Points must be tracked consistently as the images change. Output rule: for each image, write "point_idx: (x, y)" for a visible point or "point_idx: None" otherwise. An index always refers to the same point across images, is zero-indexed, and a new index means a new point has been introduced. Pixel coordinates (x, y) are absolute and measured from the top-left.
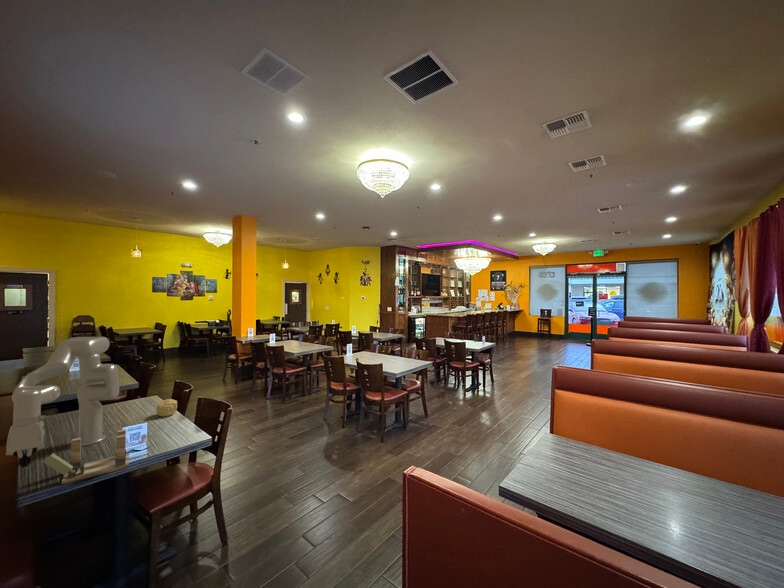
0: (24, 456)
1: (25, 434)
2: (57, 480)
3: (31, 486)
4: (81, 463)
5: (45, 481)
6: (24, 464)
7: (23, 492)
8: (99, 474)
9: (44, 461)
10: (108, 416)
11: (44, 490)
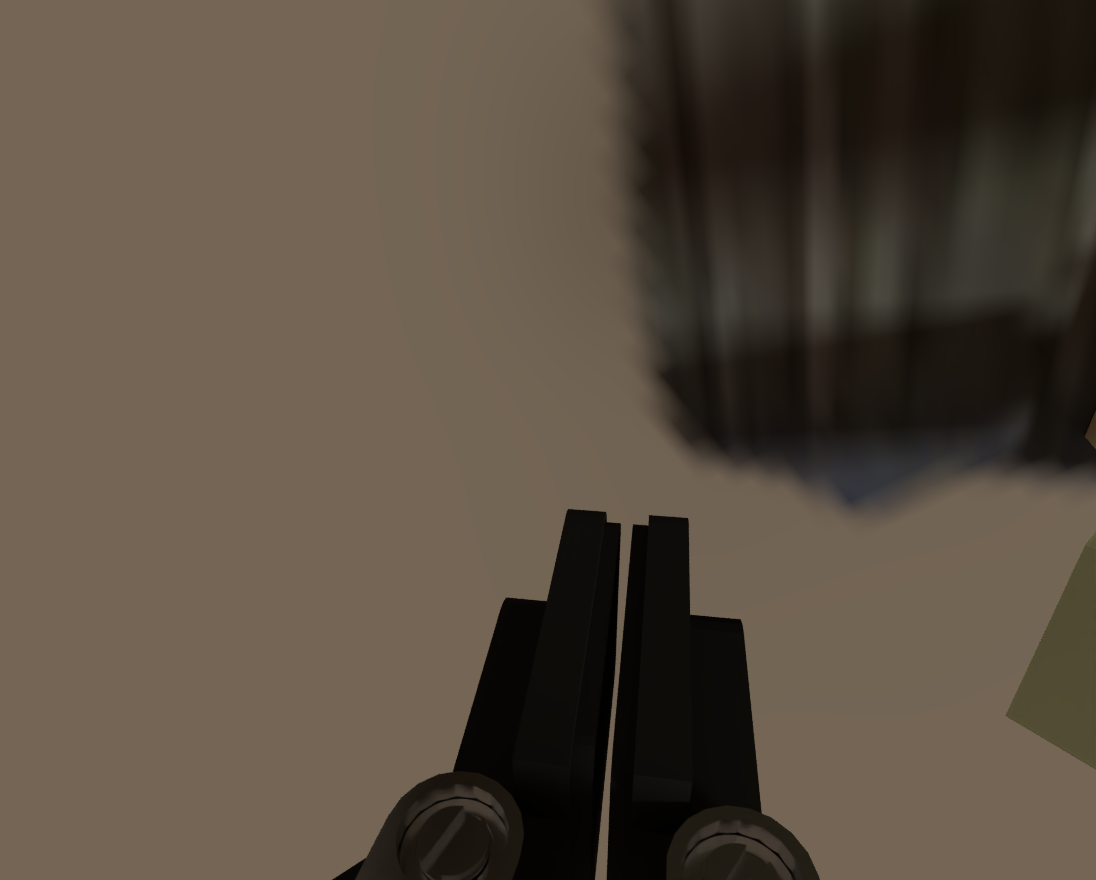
0: (570, 867)
1: None
2: (1070, 236)
3: (721, 218)
4: None
5: (907, 139)
6: (612, 677)
7: (649, 371)
8: None
9: (1038, 727)
10: None
11: (872, 484)
